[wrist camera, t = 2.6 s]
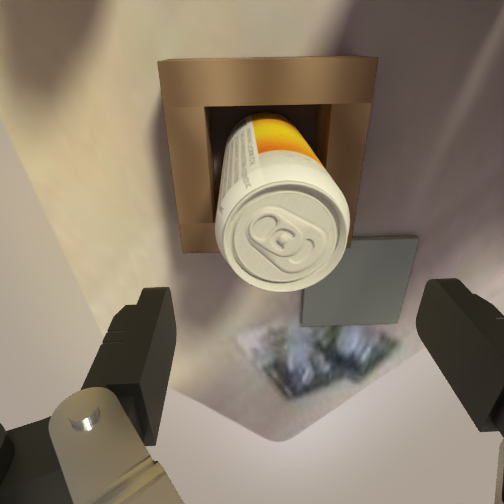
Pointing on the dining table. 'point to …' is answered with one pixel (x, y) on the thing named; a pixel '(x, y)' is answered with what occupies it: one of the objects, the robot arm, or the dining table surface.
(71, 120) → the dining table surface
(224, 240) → the beer can
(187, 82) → the pocket block
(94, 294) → the dining table surface
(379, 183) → the dining table surface
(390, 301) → the mat
